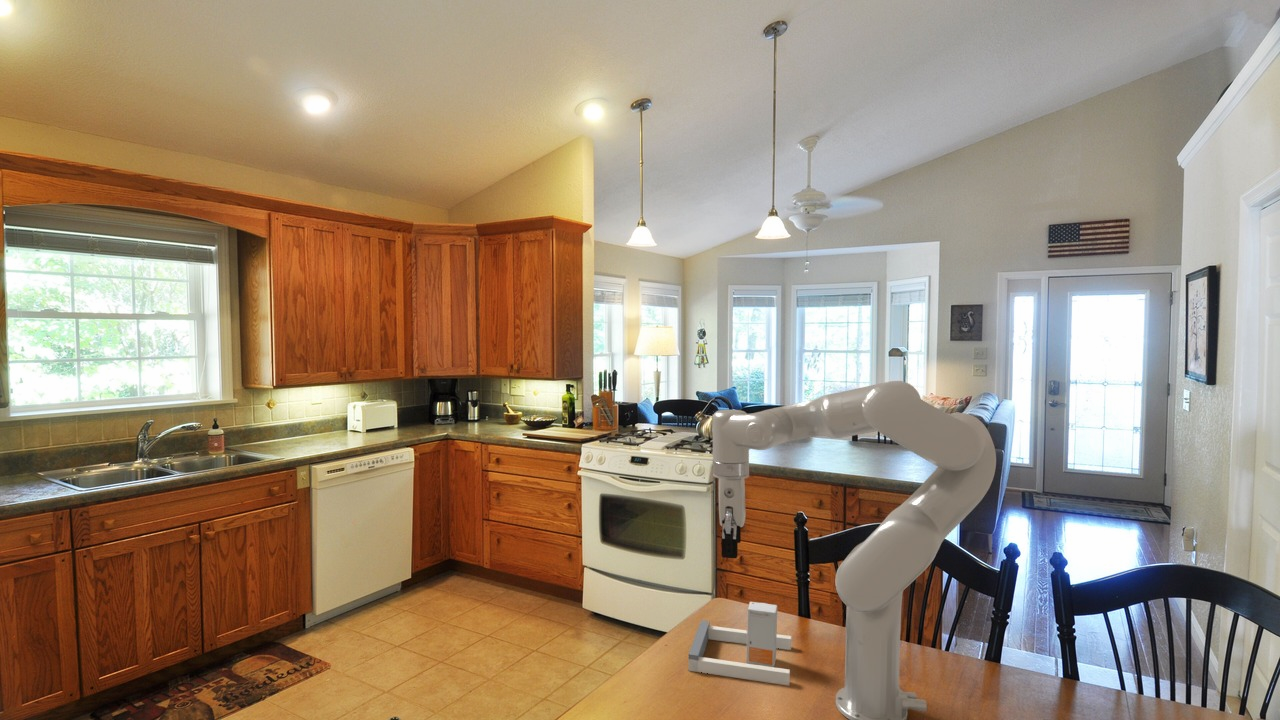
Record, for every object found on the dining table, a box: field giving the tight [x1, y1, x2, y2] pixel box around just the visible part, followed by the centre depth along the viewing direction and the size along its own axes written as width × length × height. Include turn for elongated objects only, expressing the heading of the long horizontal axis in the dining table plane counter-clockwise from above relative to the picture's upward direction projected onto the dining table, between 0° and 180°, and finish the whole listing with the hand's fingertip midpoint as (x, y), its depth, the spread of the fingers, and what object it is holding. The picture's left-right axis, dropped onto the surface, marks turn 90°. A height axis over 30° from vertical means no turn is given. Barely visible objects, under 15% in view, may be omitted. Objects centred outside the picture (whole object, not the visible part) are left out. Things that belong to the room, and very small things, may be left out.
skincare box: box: [745, 601, 778, 667], centre depth 133 cm, size 6×4×12 cm
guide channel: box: [687, 620, 792, 686], centre depth 135 cm, size 20×16×4 cm
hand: (731, 549), depth 131 cm, fingers open, 9 cm apart
